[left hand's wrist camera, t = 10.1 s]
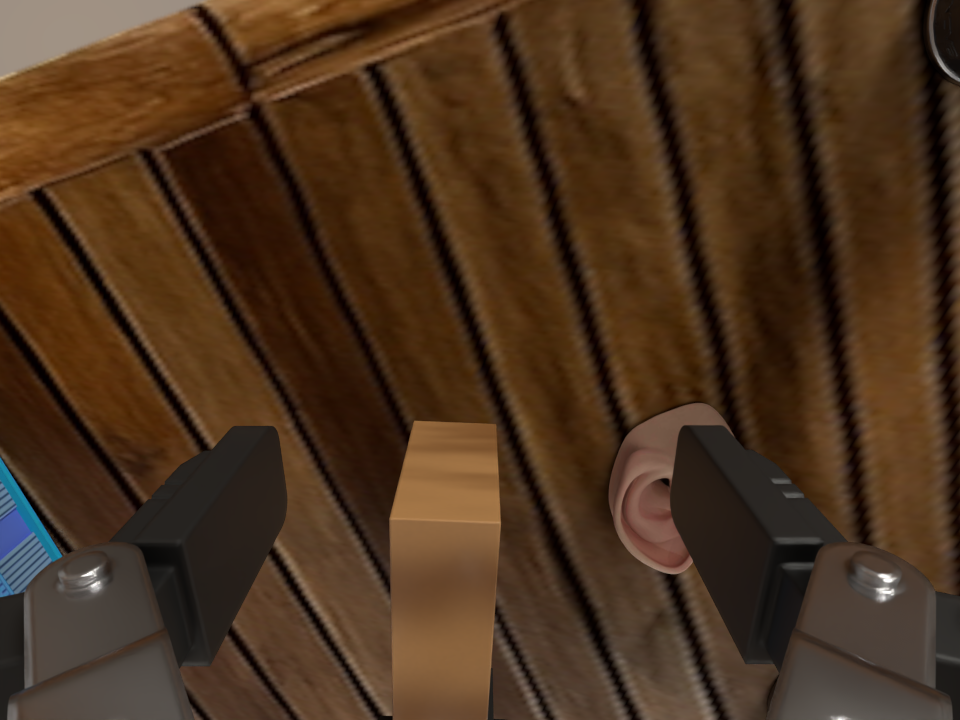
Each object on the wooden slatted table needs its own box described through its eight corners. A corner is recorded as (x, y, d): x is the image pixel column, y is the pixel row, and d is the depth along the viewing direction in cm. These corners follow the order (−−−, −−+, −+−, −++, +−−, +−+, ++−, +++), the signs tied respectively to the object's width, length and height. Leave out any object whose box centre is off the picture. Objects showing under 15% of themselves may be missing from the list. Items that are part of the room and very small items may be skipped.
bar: (413, 420, 34) (388, 518, 25) (496, 423, 34) (501, 522, 25) (413, 705, 43) (394, 854, 34) (479, 707, 43) (478, 856, 34)
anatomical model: (700, 402, 41) (800, 488, 44) (682, 380, 45) (775, 461, 48) (575, 518, 45) (674, 591, 47) (567, 489, 48) (660, 559, 51)
